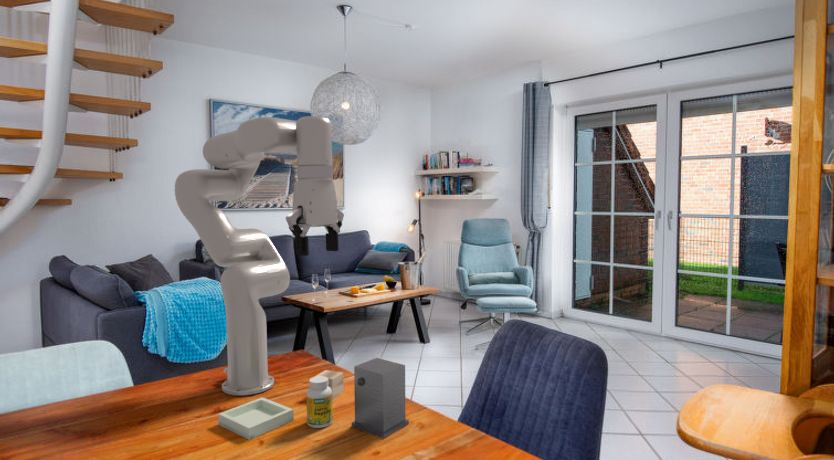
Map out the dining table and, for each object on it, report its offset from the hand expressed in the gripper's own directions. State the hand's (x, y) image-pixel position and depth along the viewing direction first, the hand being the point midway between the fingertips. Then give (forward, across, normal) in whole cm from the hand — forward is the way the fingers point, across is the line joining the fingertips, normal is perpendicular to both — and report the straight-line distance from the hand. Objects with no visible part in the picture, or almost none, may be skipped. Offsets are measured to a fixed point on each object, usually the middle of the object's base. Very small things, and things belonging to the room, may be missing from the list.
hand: (317, 253), depth 111 cm
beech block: (+36, -9, -6) cm, 37 cm away
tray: (+36, +11, -9) cm, 38 cm away
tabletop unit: (+36, -1, +15) cm, 39 cm away
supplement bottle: (+36, +4, +3) cm, 37 cm away
